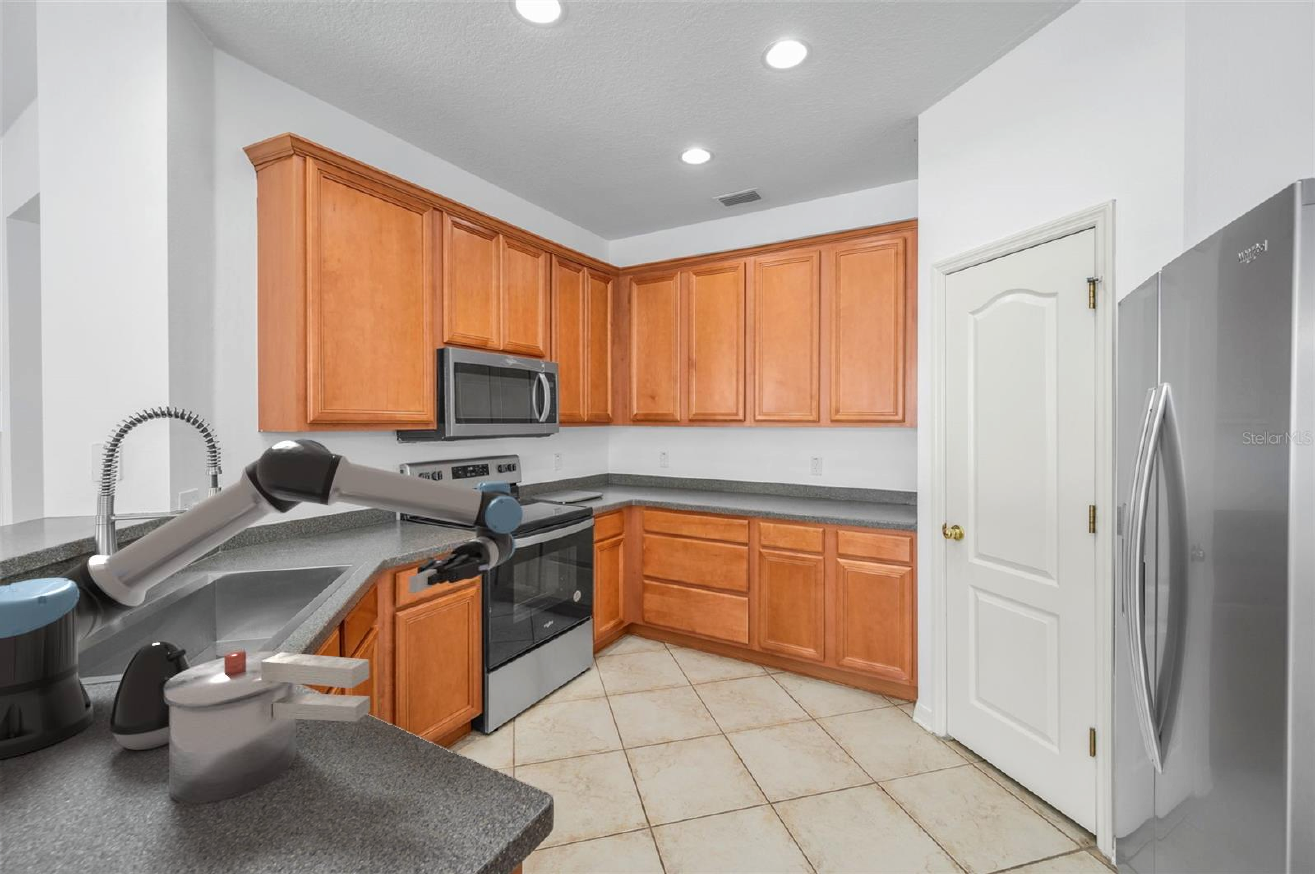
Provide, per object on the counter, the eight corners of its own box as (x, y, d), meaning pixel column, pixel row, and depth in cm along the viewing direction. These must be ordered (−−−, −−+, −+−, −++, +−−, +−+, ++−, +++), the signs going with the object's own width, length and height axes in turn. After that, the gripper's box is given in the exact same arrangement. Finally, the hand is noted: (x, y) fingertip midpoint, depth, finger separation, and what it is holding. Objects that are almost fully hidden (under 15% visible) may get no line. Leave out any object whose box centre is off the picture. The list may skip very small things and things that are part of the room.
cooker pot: (139, 799, 72) (138, 706, 72) (233, 741, 86) (233, 662, 86) (327, 813, 69) (326, 715, 69) (393, 750, 83) (392, 669, 83)
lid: (132, 702, 72) (132, 671, 72) (240, 657, 87) (240, 632, 87) (315, 722, 67) (315, 688, 67) (397, 671, 81) (397, 643, 81)
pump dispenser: (147, 763, 80) (147, 656, 80) (91, 755, 82) (90, 651, 82) (217, 727, 90) (216, 632, 90) (165, 721, 92) (164, 628, 92)
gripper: (502, 576, 119) (448, 608, 96) (445, 574, 121) (377, 605, 97) (503, 541, 119) (449, 565, 96) (445, 539, 121) (378, 562, 97)
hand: (413, 585), depth 96 cm, fingers closed
